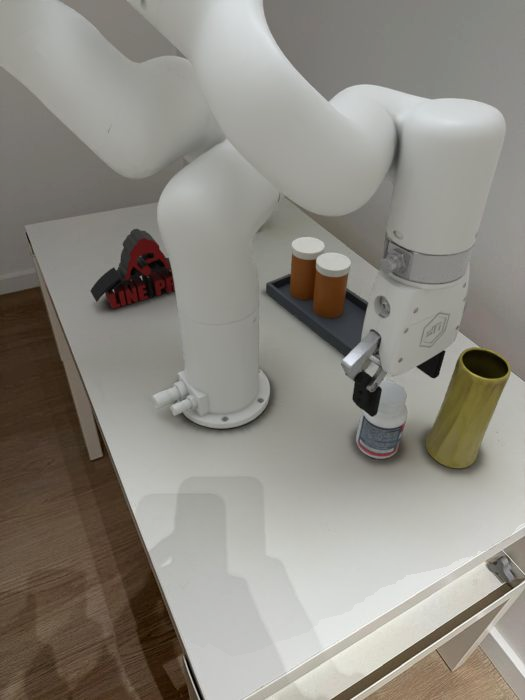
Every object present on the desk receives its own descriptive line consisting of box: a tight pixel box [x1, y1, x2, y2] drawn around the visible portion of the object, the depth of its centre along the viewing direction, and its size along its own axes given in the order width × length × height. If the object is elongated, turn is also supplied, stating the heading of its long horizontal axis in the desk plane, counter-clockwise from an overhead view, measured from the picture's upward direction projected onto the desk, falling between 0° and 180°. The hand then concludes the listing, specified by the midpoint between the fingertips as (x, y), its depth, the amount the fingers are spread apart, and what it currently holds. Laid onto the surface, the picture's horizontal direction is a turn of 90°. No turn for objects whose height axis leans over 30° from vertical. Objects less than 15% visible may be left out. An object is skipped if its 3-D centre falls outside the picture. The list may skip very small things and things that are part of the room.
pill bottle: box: [355, 379, 409, 460], centre depth 61 cm, size 5×5×9 cm
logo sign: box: [90, 228, 175, 310], centre depth 84 cm, size 18×4×11 cm, turn 120°
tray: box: [265, 273, 379, 357], centre depth 83 cm, size 10×22×2 cm, turn 36°
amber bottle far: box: [290, 236, 325, 300], centre depth 84 cm, size 5×5×9 cm
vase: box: [425, 346, 512, 469], centre depth 58 cm, size 6×6×14 cm
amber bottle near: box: [313, 252, 352, 318], centre depth 81 cm, size 5×5×9 cm
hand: (395, 388), depth 57 cm, fingers open, 9 cm apart
